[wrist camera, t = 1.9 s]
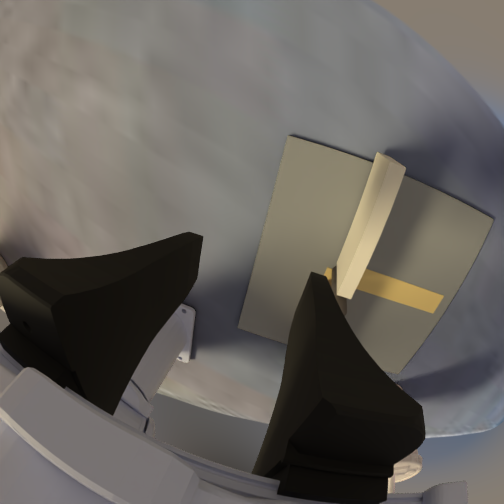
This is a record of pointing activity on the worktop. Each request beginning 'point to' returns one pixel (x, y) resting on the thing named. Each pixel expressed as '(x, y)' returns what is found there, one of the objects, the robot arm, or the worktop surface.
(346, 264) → the fence panel
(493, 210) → the worktop surface
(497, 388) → the worktop surface
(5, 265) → the jar
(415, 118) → the worktop surface
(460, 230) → the mat
